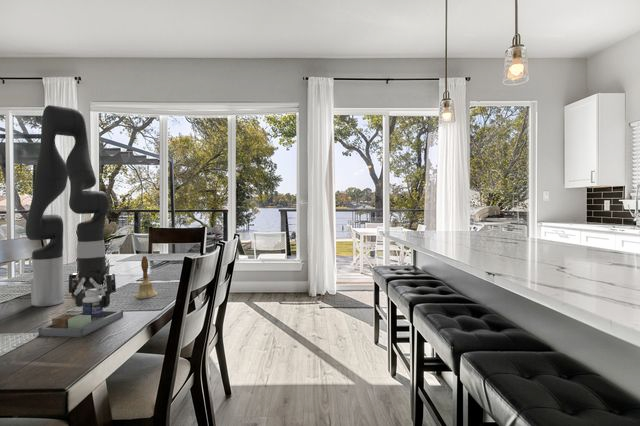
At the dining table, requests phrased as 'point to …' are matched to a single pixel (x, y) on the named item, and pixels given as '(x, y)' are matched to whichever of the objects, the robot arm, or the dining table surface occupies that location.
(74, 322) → the sage block
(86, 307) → the pill bottle
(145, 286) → the hand bell
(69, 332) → the parts tray
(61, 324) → the walnut block
